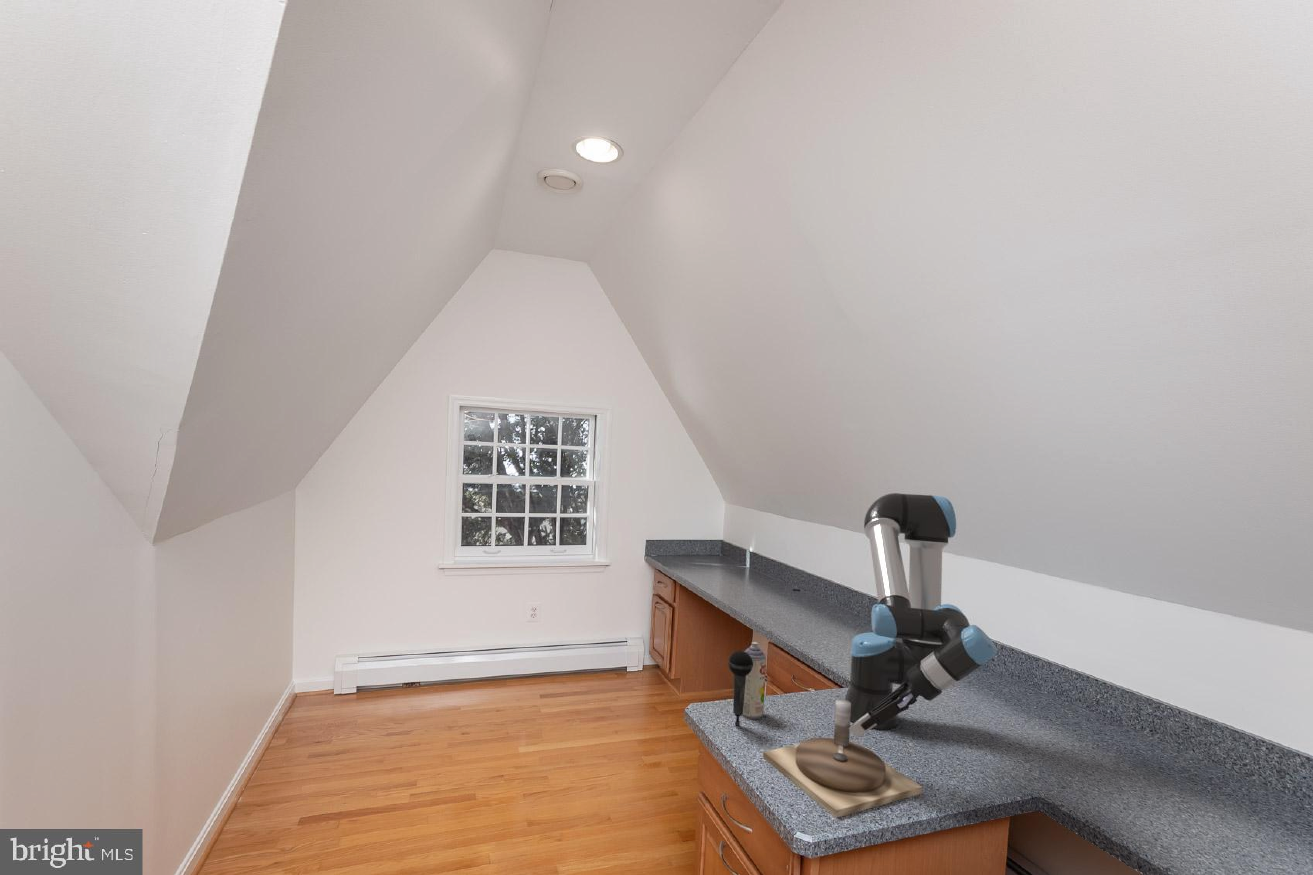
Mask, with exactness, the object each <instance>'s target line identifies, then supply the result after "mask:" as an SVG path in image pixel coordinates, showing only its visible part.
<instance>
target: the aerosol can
mask: <svg viewBox="0 0 1313 875" xmlns="http://www.w3.org/2000/svg"><path fill="white" fill-rule="evenodd" d="M743 651H744V652H746V653H748V654H749V655H750V657H751V658H752V661H753V668H752V670H751V672H750V673H749V674H748V675H746V683H745V694H744V706H743V714H742V715H741V716H740V717H743V718H745V719H750V720H760V719H762V718H763V717H764V712H765V711H764V709H765V707H764V706H765V688H766V672H767V670H766V669H767V656H766V655H767V654H766V653H765V652H763V649H761V647H760V646H759V643H758V642H757V641H753V642H752V641H751V645H750V646H749V647H747V648H746V649H745V650H743Z"/></svg>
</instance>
